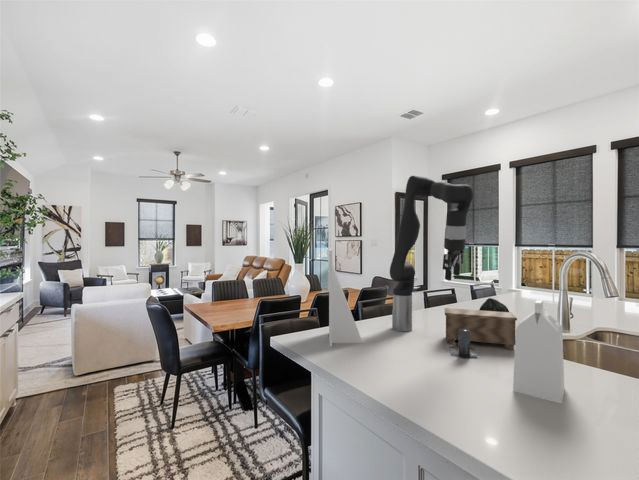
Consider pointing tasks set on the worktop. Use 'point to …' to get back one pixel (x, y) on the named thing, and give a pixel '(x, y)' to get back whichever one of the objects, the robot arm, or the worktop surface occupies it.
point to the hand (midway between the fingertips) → (452, 277)
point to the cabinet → (481, 326)
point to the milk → (539, 356)
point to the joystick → (464, 346)
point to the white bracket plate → (340, 312)
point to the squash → (493, 306)
